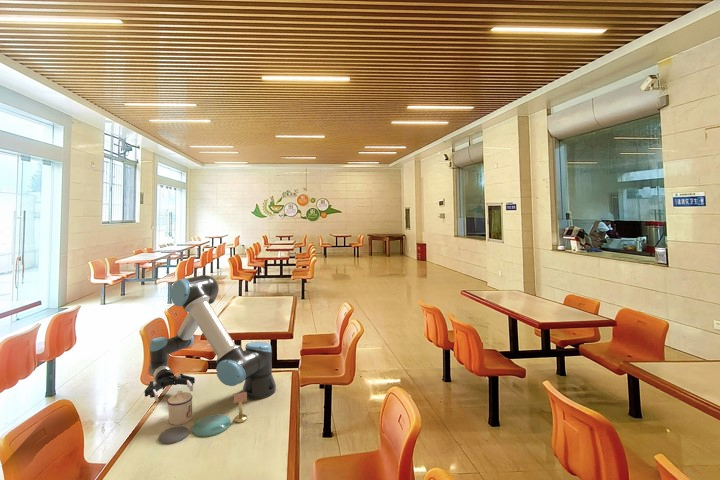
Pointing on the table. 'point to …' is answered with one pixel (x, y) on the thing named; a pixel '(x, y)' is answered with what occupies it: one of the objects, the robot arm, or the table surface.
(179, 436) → the charcoal coaster
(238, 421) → the brass tag sign
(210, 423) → the teal coaster
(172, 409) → the teacup with lid
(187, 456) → the table surface
